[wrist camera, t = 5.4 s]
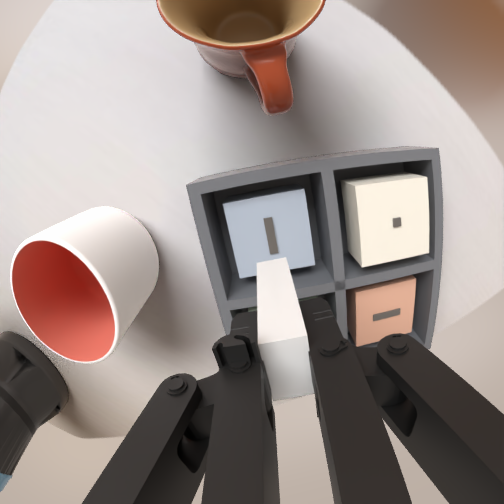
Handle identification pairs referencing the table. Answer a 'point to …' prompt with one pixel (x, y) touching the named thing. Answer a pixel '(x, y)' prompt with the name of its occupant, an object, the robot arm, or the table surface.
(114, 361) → the table surface
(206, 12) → the mug
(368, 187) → the cream key
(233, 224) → the slate key
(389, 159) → the grey compartment tray
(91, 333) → the cup
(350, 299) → the terracotta key
